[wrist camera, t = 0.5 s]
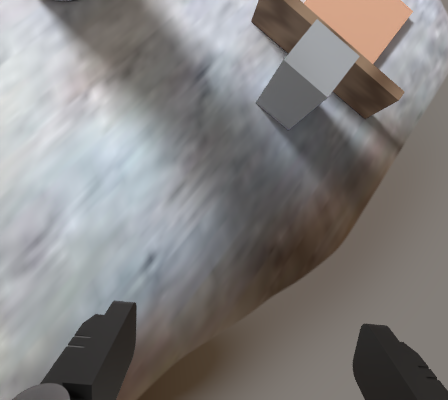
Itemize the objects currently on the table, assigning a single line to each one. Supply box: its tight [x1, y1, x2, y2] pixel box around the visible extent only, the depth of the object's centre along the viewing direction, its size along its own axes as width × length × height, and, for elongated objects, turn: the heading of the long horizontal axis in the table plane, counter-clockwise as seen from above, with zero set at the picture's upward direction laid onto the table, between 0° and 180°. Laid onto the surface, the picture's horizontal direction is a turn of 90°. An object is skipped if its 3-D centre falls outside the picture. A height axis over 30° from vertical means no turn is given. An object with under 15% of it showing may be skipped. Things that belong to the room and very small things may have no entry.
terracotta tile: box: [304, 0, 413, 64], centre depth 39 cm, size 11×11×1 cm
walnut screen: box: [251, 0, 404, 119], centre depth 35 cm, size 18×1×6 cm, turn 52°
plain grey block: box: [256, 19, 360, 130], centre depth 33 cm, size 5×5×10 cm
